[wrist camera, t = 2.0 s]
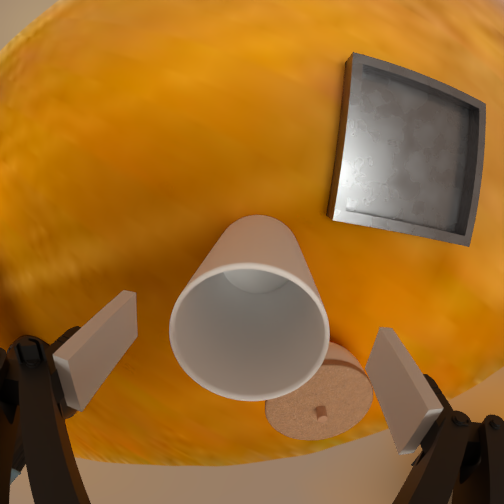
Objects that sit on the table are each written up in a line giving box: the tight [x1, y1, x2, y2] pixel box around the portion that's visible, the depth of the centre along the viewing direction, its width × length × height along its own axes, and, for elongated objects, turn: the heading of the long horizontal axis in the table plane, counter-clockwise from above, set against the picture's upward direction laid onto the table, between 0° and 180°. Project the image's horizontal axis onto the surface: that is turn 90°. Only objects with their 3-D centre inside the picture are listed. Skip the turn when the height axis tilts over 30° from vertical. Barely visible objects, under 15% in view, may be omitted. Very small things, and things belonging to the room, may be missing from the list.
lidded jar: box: [265, 342, 373, 440], centre depth 28 cm, size 11×11×9 cm
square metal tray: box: [326, 52, 486, 247], centre depth 25 cm, size 16×16×3 cm
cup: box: [169, 215, 330, 401], centre depth 22 cm, size 8×8×16 cm
